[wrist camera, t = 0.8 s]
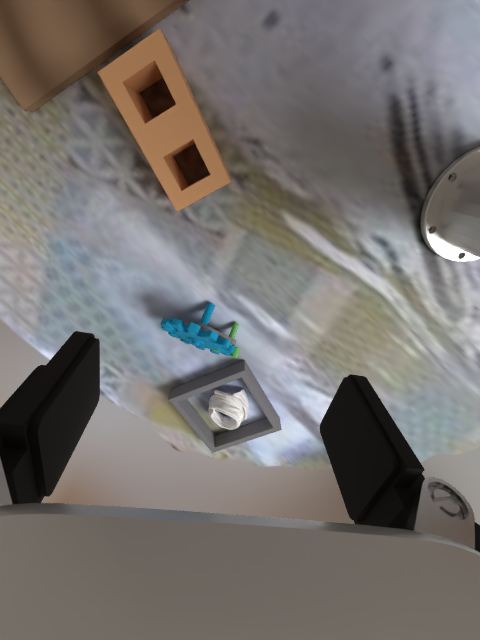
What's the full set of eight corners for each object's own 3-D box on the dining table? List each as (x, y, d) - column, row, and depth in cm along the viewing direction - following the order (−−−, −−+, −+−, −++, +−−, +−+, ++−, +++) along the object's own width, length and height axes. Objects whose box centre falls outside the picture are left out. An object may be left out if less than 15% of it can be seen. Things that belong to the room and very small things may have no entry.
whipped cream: (251, 411, 52) (255, 435, 48) (214, 420, 52) (215, 444, 48) (243, 379, 47) (247, 403, 43) (202, 388, 47) (202, 413, 43)
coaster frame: (244, 359, 45) (244, 370, 42) (279, 417, 51) (281, 429, 49) (171, 388, 47) (168, 400, 45) (213, 440, 54) (212, 452, 51)
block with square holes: (118, 84, 28) (97, 72, 24) (172, 48, 27) (159, 28, 23) (184, 204, 34) (176, 211, 29) (231, 178, 32) (230, 182, 28)
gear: (149, 331, 40) (172, 324, 32) (167, 293, 42) (192, 277, 33) (217, 362, 45) (252, 363, 36) (230, 326, 46) (267, 320, 38)
